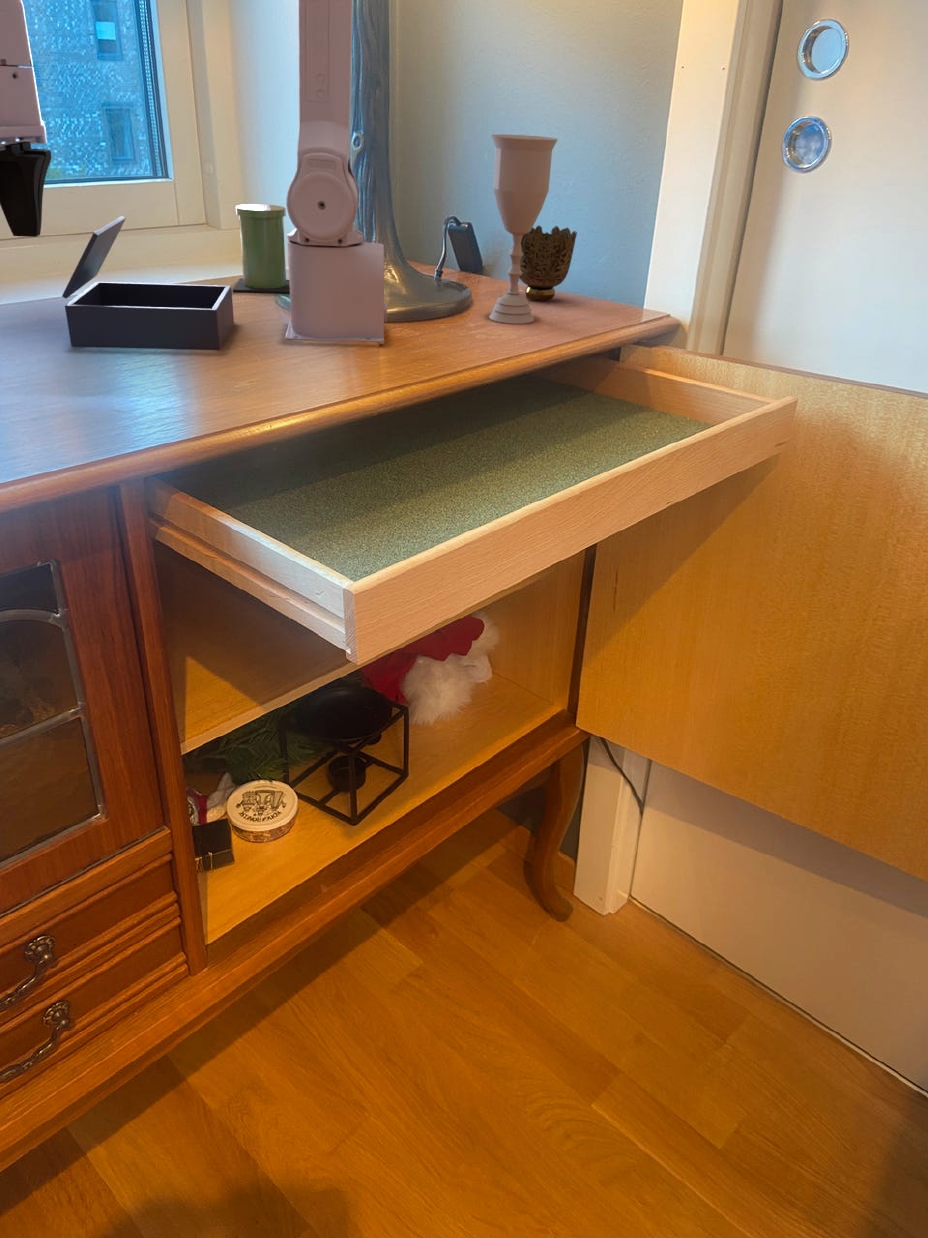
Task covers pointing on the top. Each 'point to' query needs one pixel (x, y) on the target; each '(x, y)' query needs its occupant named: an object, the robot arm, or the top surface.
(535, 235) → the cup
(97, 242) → the flap
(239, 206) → the pot
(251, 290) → the mat
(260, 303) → the top surface
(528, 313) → the chalice
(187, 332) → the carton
